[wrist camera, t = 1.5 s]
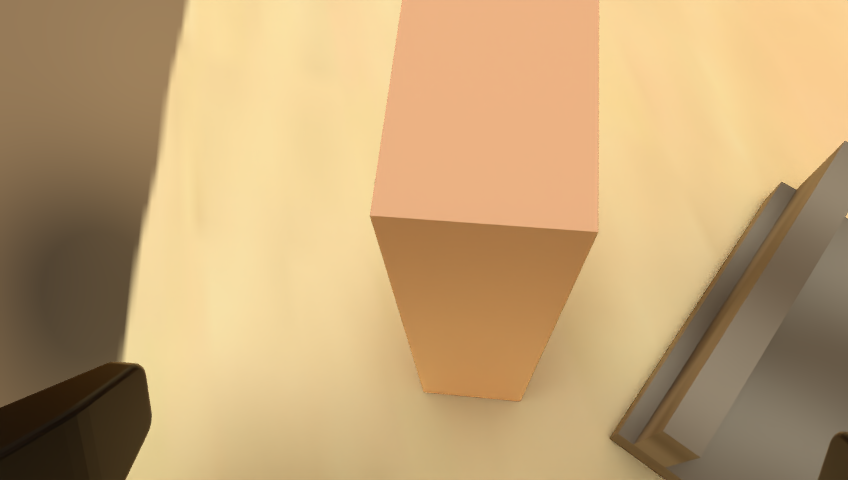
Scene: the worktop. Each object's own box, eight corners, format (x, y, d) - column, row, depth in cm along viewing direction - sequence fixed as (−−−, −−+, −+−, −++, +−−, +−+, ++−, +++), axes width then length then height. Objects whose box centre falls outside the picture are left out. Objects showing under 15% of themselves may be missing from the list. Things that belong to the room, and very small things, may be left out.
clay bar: (520, 401, 21) (598, 232, 9) (423, 392, 21) (370, 215, 9) (526, 265, 22) (598, -32, 10) (437, 258, 23) (407, -39, 11)
